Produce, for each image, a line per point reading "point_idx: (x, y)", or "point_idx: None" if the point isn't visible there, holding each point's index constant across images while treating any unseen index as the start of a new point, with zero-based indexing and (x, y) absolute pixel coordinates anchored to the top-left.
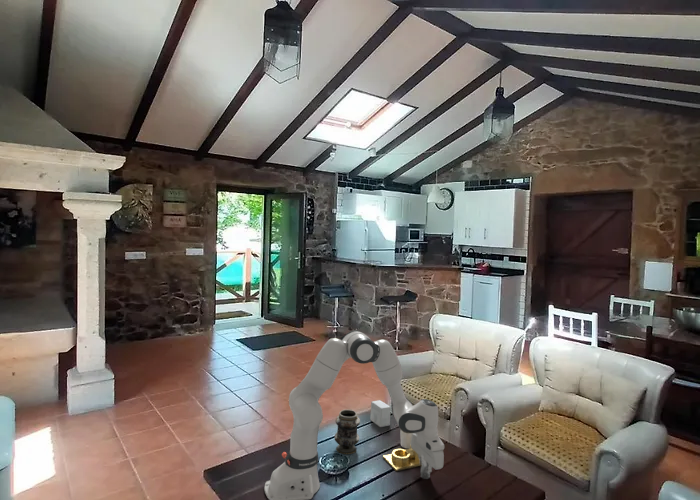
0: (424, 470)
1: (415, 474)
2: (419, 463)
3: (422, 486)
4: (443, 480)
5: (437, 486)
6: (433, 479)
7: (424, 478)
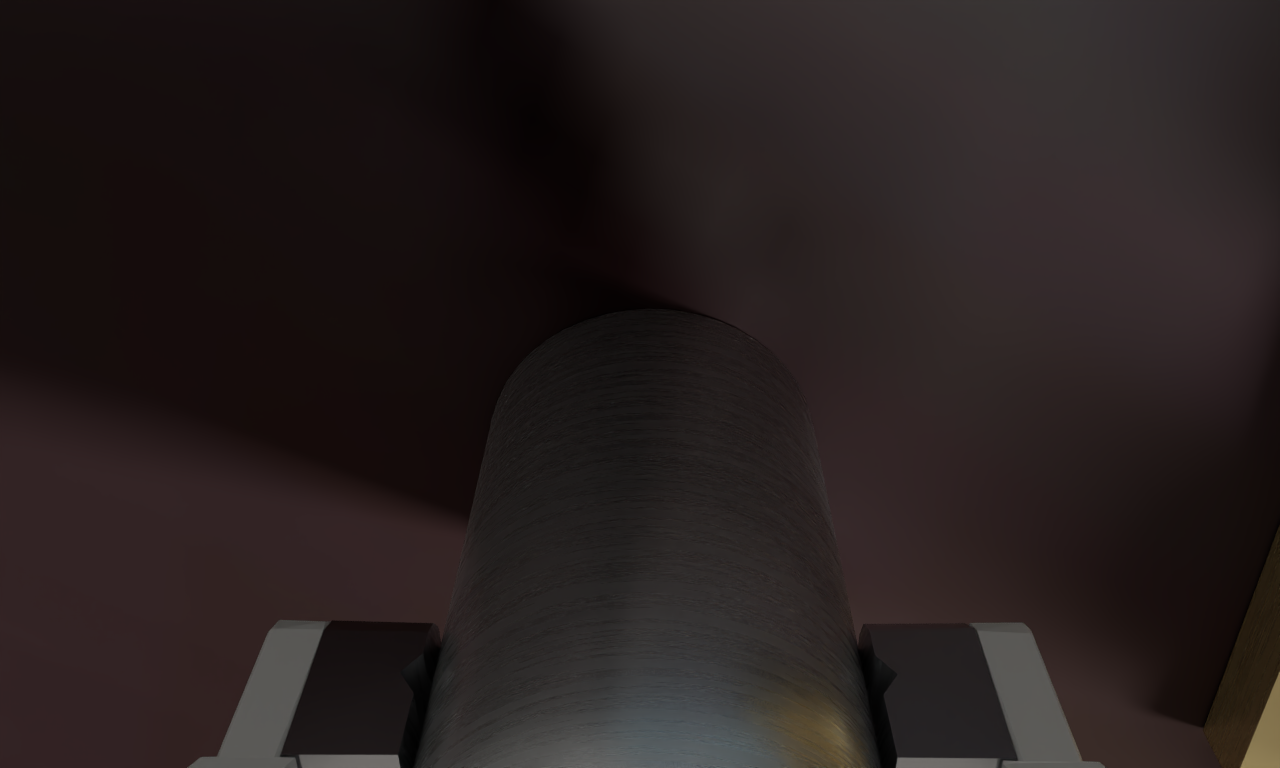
0: (491, 563)
1: (908, 215)
2: (1032, 648)
3: (70, 28)
4: None
5: (26, 499)
6: (414, 580)
7: (524, 368)
